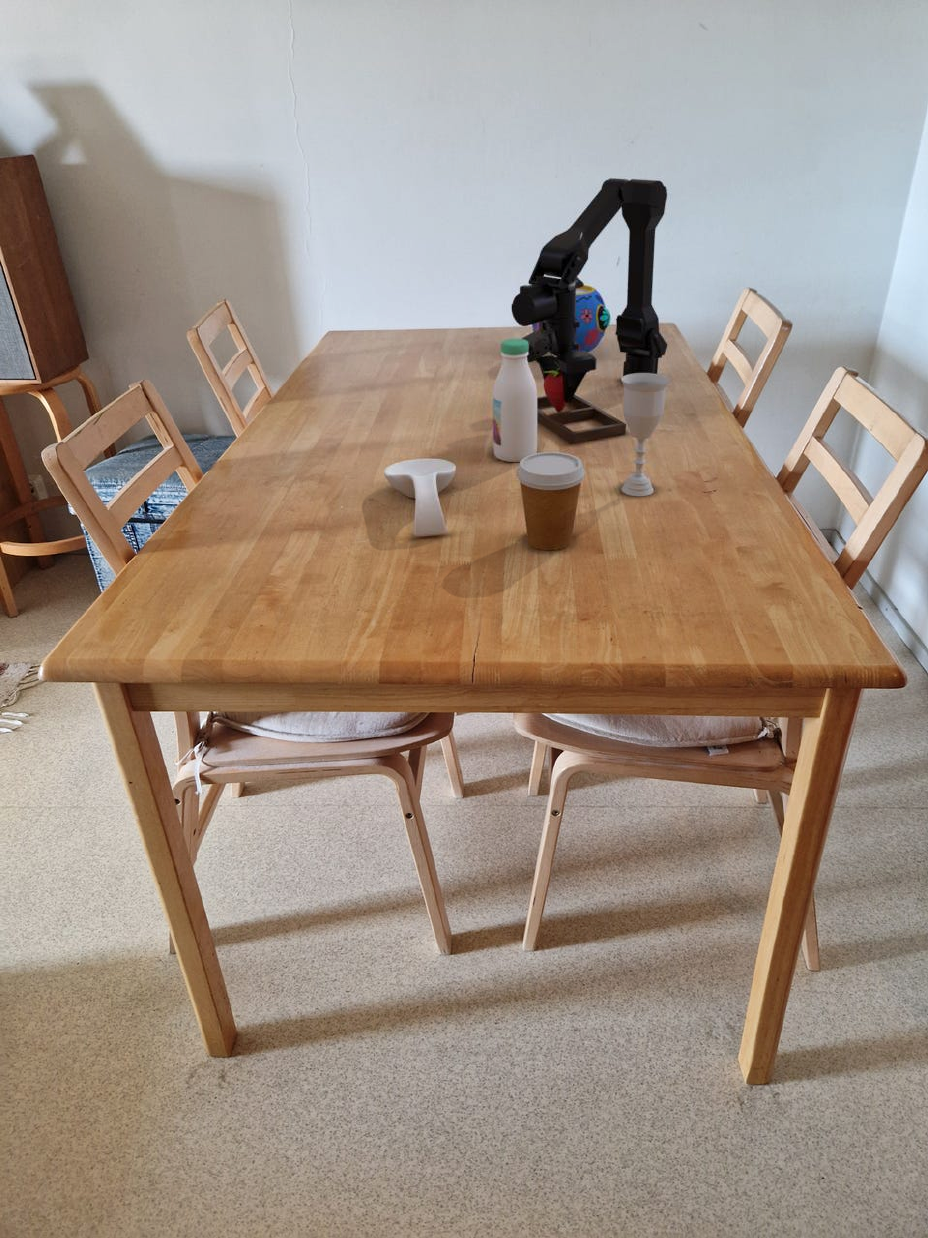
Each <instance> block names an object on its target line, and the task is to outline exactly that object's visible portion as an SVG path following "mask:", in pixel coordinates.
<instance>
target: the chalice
mask: <svg viewBox="0 0 928 1238" xmlns="http://www.w3.org/2000/svg"><path fill="white" fill-rule="evenodd" d="M620 379H621V380H620V381H621V383H622V386H623V403H622V412H623V416H624V420H625V424H626V426H627V428H628V429H629V432H630V434H631V436H632V438H634V439H636V440H637V445H636V448H635V449H634V451H635V453H636V457H635V459H634V460H633V463H634V465H635V470H634V471H633V473H631V474H630V475H629V476H627V478H626V481H625V482H624V485H623V486H622V487H621V492H622V493H623V494H625V495H628V496H632V497H646V496H650V495H652V494H653V493H654V488H653V486H652V483H651V478H649V476H648V475H647V474H645V473H644V472H643V466H644V465H645V463H646V460H645V459H644V455H645V452H646V451H647V450H646V448H645V441H646V439H649V438H651V437H652V435H653V434H654V432H655V430H656V429H657V428H658V425H660V423H661V422H660V421H661V420H662V417H663V415H664V413H665V401H666V391H667V390H666V389H667V387H668V385H669V383H670V382H671V379H670V378H669V377H668V376H666V375H663V374H658V373H657V374H653V373H634V374H628V375H625V376H623V375H622V376H621V377H620Z"/></svg>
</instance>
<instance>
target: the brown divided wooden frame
mask: <svg viewBox="0 0 928 1238" xmlns="http://www.w3.org/2000/svg"><path fill="white" fill-rule="evenodd" d="M568 404H569V405H571V406H572V407H574V408H575V409H573V410H568V411H561V412H556V413H550V414H546V413H545V412H544V411H542V410H541V409H542V408H548V407H553V405H552V404H551V403H550V401H549V399H548V398H547V396H546V395H544V396H543V395H542V396H537V423H539V424H540V425H542V426H543V427H545V428H546V429H548V430H549V431H551V432H552V433H553V434H555V435H557V436H558V437H559V438H561V439H563V440H564V441H566V442H567V443H569V444H570V445H576V444H581V443H586V442H590V441H597V440H602V439H607V438H613V437H619V436H623V435H626V433H627V432H626V431H627V423H626V422H624V421H622V420H620V419H618V418H616V417H615V416H613V415H611V414H610V413H608V412H606V411H604V410H603V409H601V408H599V407H598V406H595V405H594V404H592V403H591V402H589V401H587V400H585V399H584V398H581V397H580V396H579V395H576V393H575V394H574V396H573V398H572V400H571V402H570V403H568ZM592 419H594V420H596V421H597V422H599V423H601V424H603V426H597V427H592V428H586V429H581V430H575V431H573V430H572V429H571V428H569V427H567V426H566V425H564V424H570V423H575V422H580V421H581V422H582V421H586V420H592Z"/></svg>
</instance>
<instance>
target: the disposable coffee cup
mask: <svg viewBox="0 0 928 1238" xmlns="http://www.w3.org/2000/svg"><path fill="white" fill-rule="evenodd" d="M585 475H586V470H585V468H584V467H583V462H582V460H581V459H580V458H579V457H577V456H575V455H573V454H569V453H567V452H560V451H559V452H558V451H543V452H537V453H536V454H532V455H529V456H526V457H525V458H523V459H522V460H521V462H519V465H518V468H517V469H516V476H517V479H518V481H519V483H520V492H521V500H522V507H523V514H524V522H525V530H526V536H527V543H528V544H529V546H531V547H533V548H535V549H537V550H541V551H542V550H543V551H558V550H562V549H565V548H567V547H569V546H570V545H571V543H572V538H573V532H574V527H575V521H576V514H577V508H578V502H579V497H580V489H581V485H582V481H583V479H584V477H585Z"/></svg>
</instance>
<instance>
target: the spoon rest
mask: <svg viewBox="0 0 928 1238" xmlns="http://www.w3.org/2000/svg"><path fill="white" fill-rule="evenodd" d="M456 471H457V465H456V464H455V463H453V462H451V461H449V460H446V459H441V458H418V459H417V458H416V459H407V460H403V461H399V462H396V463H393V464H390V465H389V466H387V467H386V468H385V469H384V471H383V476H384V477H385V479H386V481H387V482H388V483H389V484H390V486H392V487H393V488H394V489H395V490H397V491H399V492H400V493H402V494H403V495H404V496H406V497H407V498H410V499H414V500H415V503H414V504H415V507H414V522H413V524H414V525H413V534H414V536H415V537H425V536H437V535H438V536H439V535H444V534H446V533H447V528H446V522H445V518H444V514H443V511H442V507H441V503H440V498H439V493H440V492H442V491H443V490H445V488H447V487H448V486H449V484H451V482H452V480H453V479H454V477H455V474H456Z"/></svg>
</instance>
